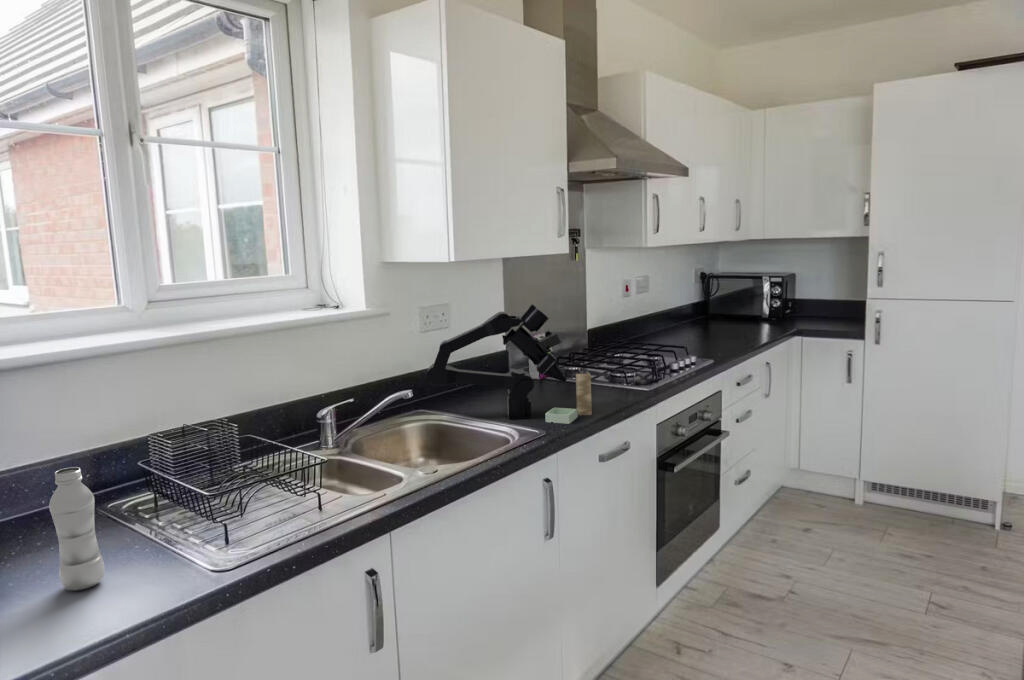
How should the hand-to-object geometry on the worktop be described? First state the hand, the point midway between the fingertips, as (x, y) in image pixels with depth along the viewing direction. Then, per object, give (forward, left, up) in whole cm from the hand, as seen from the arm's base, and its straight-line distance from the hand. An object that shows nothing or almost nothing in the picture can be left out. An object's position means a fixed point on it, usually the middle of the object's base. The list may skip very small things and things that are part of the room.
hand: (564, 377), depth 212 cm
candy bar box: (+2, +59, -12) cm, 60 cm away
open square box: (-2, -6, -11) cm, 13 cm away
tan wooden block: (+6, 0, -11) cm, 13 cm away
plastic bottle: (-98, -88, -12) cm, 132 cm away
